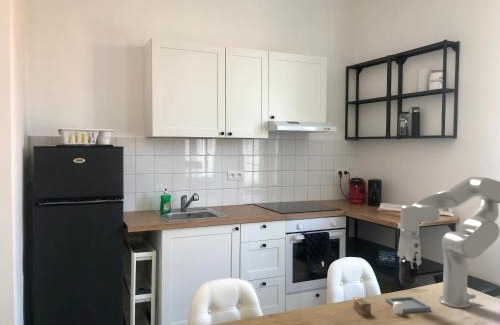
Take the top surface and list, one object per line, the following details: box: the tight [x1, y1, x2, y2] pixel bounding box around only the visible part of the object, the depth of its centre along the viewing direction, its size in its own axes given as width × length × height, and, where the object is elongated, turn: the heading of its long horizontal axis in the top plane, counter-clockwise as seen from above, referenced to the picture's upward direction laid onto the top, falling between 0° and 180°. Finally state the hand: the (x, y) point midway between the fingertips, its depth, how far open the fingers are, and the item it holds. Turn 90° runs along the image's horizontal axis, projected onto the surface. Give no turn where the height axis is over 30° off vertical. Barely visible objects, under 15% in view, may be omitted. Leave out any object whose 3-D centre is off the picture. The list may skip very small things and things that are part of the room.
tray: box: [385, 295, 432, 314], centre depth 176 cm, size 13×13×2 cm
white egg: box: [392, 301, 404, 315], centre depth 168 cm, size 4×4×4 cm
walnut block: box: [354, 299, 372, 316], centre depth 167 cm, size 4×4×4 cm
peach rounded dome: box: [352, 296, 364, 310], centre depth 173 cm, size 4×4×4 cm
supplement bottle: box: [399, 255, 417, 285], centre depth 175 cm, size 7×7×12 cm
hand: (408, 274), depth 175 cm, fingers closed on supplement bottle, 6 cm apart
